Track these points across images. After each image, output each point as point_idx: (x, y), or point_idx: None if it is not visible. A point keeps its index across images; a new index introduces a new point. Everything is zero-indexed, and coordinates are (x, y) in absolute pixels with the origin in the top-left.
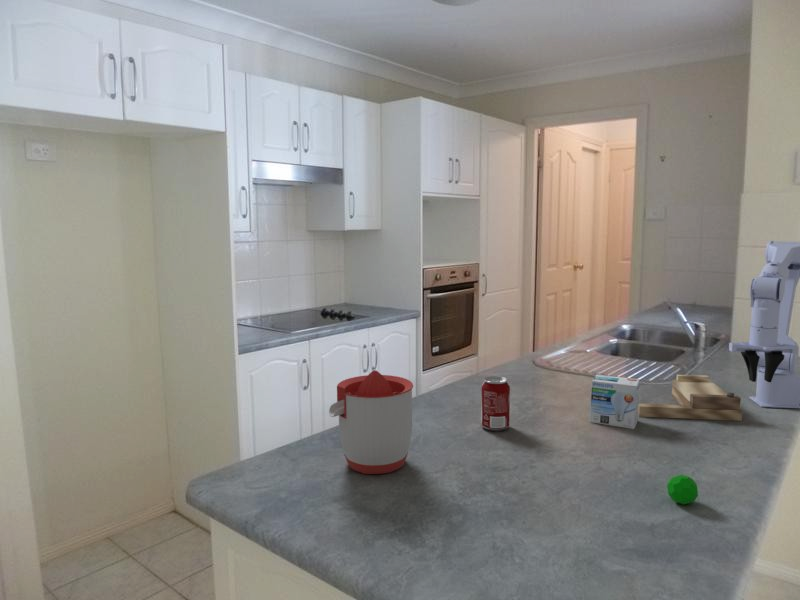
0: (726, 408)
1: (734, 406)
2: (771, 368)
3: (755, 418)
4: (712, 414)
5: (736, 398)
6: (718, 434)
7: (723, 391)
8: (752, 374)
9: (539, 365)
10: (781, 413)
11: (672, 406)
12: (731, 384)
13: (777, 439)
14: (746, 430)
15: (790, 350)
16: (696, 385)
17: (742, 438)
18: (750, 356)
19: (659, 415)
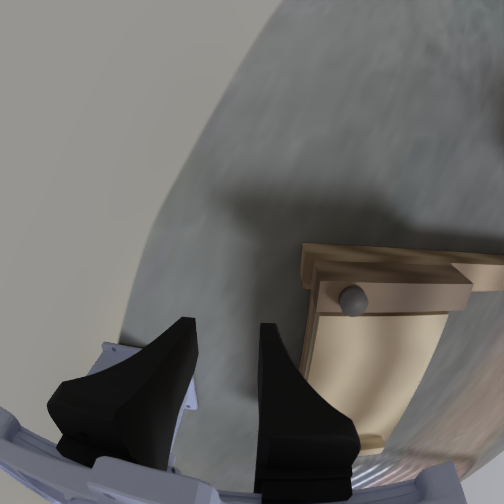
0: (359, 263)
1: (335, 266)
2: (163, 360)
3: (245, 268)
4: (394, 253)
5: (336, 280)
6: (426, 115)
7: (310, 381)
8: (284, 347)
9: (469, 466)
10: (153, 313)
11: (487, 276)
12: (204, 460)
13: (265, 73)
14: (330, 149)
15: (17, 438)
16: (358, 416)
17: (372, 79)
18: (351, 432)
19: (499, 256)
